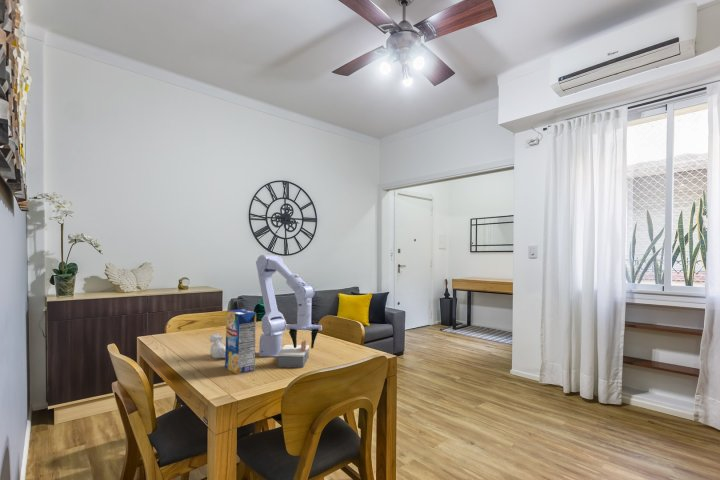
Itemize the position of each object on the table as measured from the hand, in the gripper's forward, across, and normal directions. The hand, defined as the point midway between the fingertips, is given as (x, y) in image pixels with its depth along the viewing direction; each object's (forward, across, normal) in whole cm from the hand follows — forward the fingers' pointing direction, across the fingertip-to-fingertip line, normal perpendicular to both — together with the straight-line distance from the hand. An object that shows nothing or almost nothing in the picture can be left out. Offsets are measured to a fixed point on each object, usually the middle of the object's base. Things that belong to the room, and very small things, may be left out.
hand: (303, 347), depth 149 cm
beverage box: (+6, -23, -10) cm, 26 cm away
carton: (+6, -4, 0) cm, 7 cm away
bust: (+6, -37, +4) cm, 38 cm away
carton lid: (+2, -4, 0) cm, 4 cm away
